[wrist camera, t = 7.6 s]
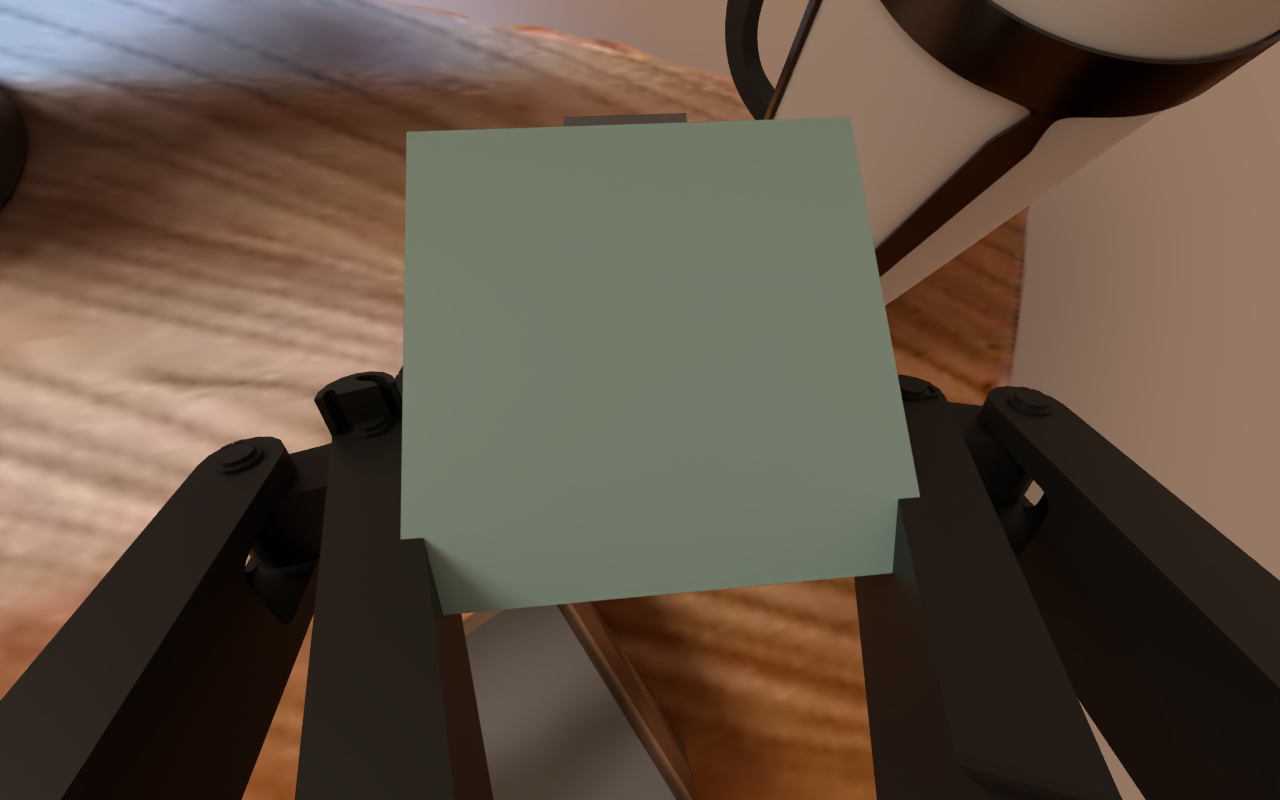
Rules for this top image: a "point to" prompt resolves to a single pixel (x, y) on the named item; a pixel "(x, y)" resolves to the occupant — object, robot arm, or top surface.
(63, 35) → the top surface
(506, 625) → the walnut stand
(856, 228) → the lid
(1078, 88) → the coffee press
